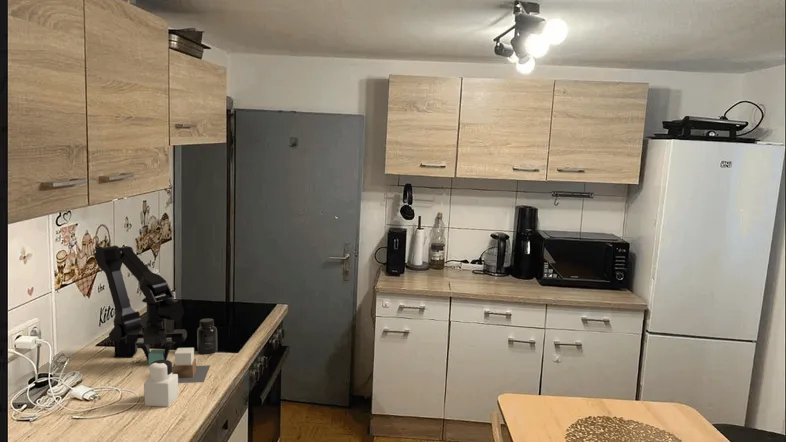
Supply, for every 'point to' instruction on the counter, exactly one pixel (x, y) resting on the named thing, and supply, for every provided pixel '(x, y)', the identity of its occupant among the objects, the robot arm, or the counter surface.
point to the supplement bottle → (207, 337)
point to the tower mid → (184, 356)
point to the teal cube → (156, 355)
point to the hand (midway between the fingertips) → (157, 360)
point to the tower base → (185, 370)
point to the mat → (196, 375)
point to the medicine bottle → (161, 384)
